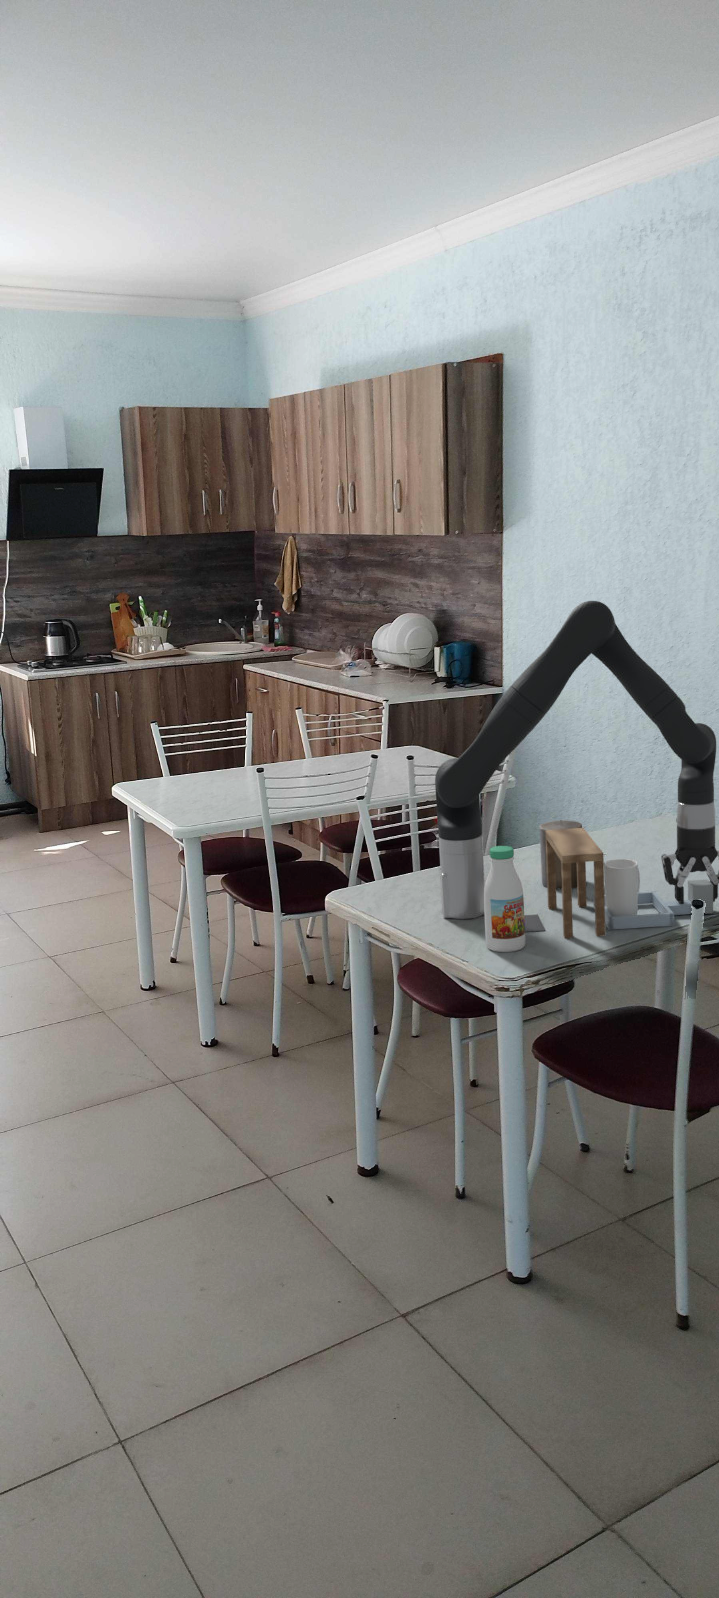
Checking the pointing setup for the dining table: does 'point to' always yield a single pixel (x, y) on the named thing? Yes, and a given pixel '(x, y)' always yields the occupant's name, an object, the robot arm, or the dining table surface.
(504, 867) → the milk bottle
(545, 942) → the dining table surface
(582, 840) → the tunnel
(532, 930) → the gray flat slab
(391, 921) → the dining table surface
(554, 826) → the pillar candle
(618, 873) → the mug
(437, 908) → the dining table surface
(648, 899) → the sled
